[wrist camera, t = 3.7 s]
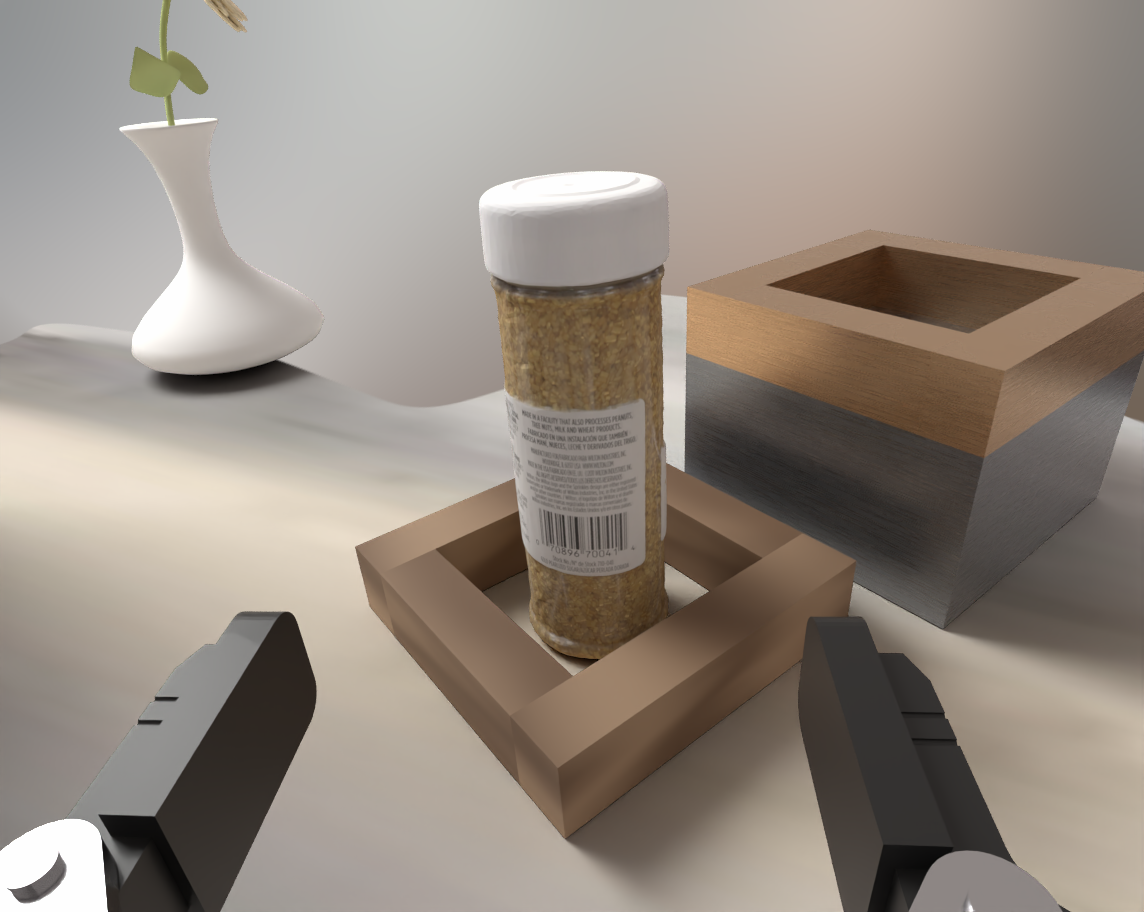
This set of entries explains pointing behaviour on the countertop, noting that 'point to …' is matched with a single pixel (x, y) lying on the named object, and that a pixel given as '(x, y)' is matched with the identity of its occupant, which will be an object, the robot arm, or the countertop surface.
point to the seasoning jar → (585, 396)
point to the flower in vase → (206, 245)
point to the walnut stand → (625, 676)
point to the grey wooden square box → (913, 402)
